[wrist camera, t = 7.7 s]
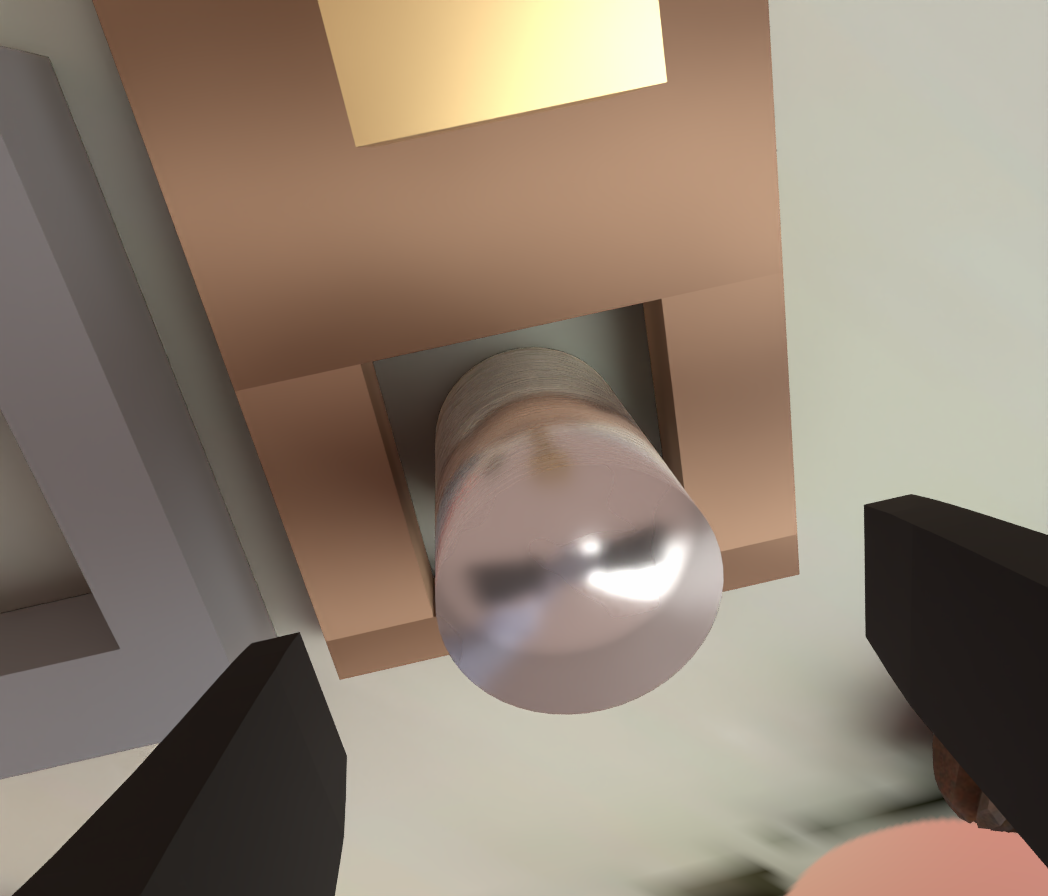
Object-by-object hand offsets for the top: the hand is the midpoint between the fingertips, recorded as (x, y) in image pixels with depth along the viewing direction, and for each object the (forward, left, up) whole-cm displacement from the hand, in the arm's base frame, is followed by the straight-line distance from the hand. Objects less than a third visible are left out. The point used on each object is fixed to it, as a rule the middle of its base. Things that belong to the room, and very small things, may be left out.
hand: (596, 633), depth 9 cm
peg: (0, 0, -7) cm, 7 cm away
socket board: (+4, 0, -7) cm, 8 cm away
